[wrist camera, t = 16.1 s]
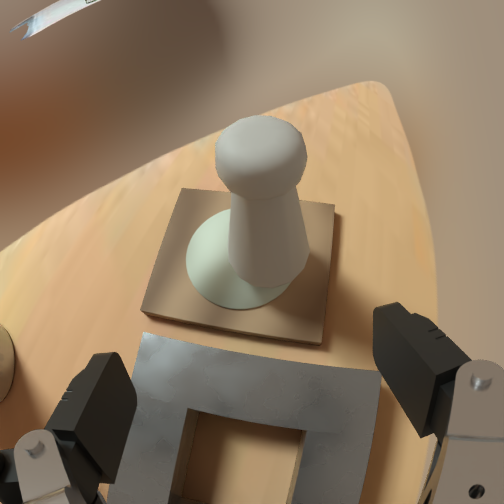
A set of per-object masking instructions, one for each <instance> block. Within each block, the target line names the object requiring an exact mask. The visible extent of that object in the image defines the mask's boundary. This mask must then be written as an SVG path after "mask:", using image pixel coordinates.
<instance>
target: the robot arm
mask: <svg viewBox="0 0 504 504" xmlns="http://www.w3.org/2000/svg"><path fill="white" fill-rule="evenodd" d="M373 357H374V361H375V364H376V366H377V368H378V370H379V371H380V373H381V374H382V376H383V378H384V379H385V381H386V382H387V384H388V386H389V387H390V389H391V390H392V392H393V394H394V395H395V397H396V399H397V400H398V402H399V403H400V405H401V407H402V408H403V410H404V412H405V413H406V415H407V417H408V418H409V420H410V421H411V423H412V425H413V426H414V428H415V430H416V431H417V433H418V435H419V436H420V438H423V437H425V436H428V435H430V434H432V433H434V434H435V435H436V437H437V442H436V445H435V449H434V452H433V456H432V460H431V464H430V467H429V471H428V474H427V477H426V481H425V484H424V487H423V490H422V493H421V496H420V499H419V501H418V504H504V370H503V368H502V367H500V366H499V365H498V364H496V363H494V362H491V361H487V360H473V361H472V360H471V359H470V358H469V357H468V356H467V355H466V354H465V353H464V352H463V351H462V350H461V349H460V348H459V347H458V346H457V345H456V344H455V343H454V342H453V341H452V340H451V339H450V338H449V337H446V335H445V333H443V332H442V331H441V330H440V329H438V327H437V326H436V325H435V324H434V323H433V322H432V321H431V320H430V319H428V318H426V317H424V316H421V315H419V314H417V313H414V314H410V313H409V312H408V311H407V310H406V309H405V308H404V307H403V306H402V305H401V304H400V303H399V302H395V303H391V304H387V305H383V306H380V307H376V308H375V309H374V311H373ZM14 361H15V360H14V350H13V345H12V341H11V339H10V336H9V334H8V333H7V331H6V329H5V328H4V327H3V326H2V325H1V324H0V402H1V401H2V400H3V399H4V398H5V396H6V395H7V393H8V391H9V389H10V387H11V383H12V380H13V374H14ZM66 390H67V392H65V393H64V395H63V396H62V398H61V399H62V400H60V401H59V403H58V405H57V407H56V408H55V410H54V412H53V414H52V416H51V417H50V419H49V421H48V423H47V425H46V426H45V428H44V429H38V430H33V431H30V432H28V433H27V434H25V435H24V436H22V437H21V438H20V439H19V440H18V442H17V443H16V445H15V448H14V449H6V450H0V502H1V503H2V504H107V503H106V502H105V500H104V498H103V496H102V494H101V493H100V492H99V491H98V487H99V483H107V484H115V480H116V477H117V473H118V469H119V466H120V462H121V459H122V455H123V452H124V448H125V445H126V441H127V438H128V435H129V431H130V428H131V425H132V421H133V418H134V415H135V412H136V409H137V394H136V390H135V388H134V386H133V384H132V381H131V379H130V377H129V375H128V373H127V370H126V368H125V366H124V364H123V361H122V359H121V357H120V355H119V354H118V353H116V352H110V353H99V354H94V355H93V356H92V358H91V359H90V361H89V363H88V365H87V366H86V368H85V369H83V370H82V371H81V372H80V373H79V374H78V375H77V376H75V377H74V378H73V379H72V381H71V383H70V384H69V386H68V388H67V389H66Z"/></svg>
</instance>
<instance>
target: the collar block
mask: <svg viewBox="0 0 504 504" xmlns="http://www.w3.org/2000/svg"><path fill="white" fill-rule="evenodd" d="M381 377H382V374H381V373H380V371H372V370H361V369H351V368H341V367H332V366H323V365H315V364H308V363H300V362H293V361H286V360H280V359H273V358H267V357H261V356H255V355H249V354H243V353H238V352H233V351H227V350H222V349H217V348H212V347H207V346H202V345H198V344H193V343H188V342H184V341H179V340H175V339H171V338H166V337H162V336H158V335H154V334H150V333H146V332H143V336H142V340H141V343H140V347H139V351H138V355H137V358H136V362H135V366H134V370H133V374H132V378H131V381H132V384H133V386H134V388H135V390H136V394H137V409H136V412H135V415H134V418H133V421H132V425H131V428H130V431H129V435H128V438H127V441H126V445H125V448H124V452H123V455H122V459H121V462H120V466H119V469H118V473H117V477H116V480H115V484H110V485H109V491H108V497H107V504H206V503H202V502H199V501H195V500H191V499H188V498H184V497H181V496H182V491H183V487H184V482H185V477H186V472H187V467H188V463H189V458H190V453H191V448H192V444H193V439H194V434H195V430H196V425H197V420H198V416H199V411H202V412H206V413H211V414H215V415H219V416H224V417H229V418H234V419H239V420H244V421H249V422H254V423H260V424H266V425H272V426H279V427H285V428H293V429H300V430H302V433H301V438H300V443H299V448H298V453H297V458H296V462H295V467H294V471H293V476H292V480H291V485H290V489H289V493H288V497H287V501H286V504H359V500H360V496H361V492H362V488H363V483H364V479H365V475H366V470H367V465H368V460H369V456H370V450H371V445H372V440H373V434H374V428H375V422H376V415H377V409H378V401H379V394H380V386H381Z"/></svg>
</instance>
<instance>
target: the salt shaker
mask: <svg viewBox="0 0 504 504" xmlns="http://www.w3.org/2000/svg"><path fill="white" fill-rule="evenodd" d="M215 162H216V170H217V173H218V176H219V178H220V179H221V180H222V181H223V183H224V184H225V185H226V187H227V188H228V189H229V190H230V191H231V209H230V221H229V232H228V260H229V262H230V264H231V265H232V267H233V269H234V270H235V272H236V273H237V275H238V276H239V278H241V279H243V280H244V281H246V282H248V283H249V284H251V285H253V286H255V287H265V288H275V287H278V286H281V285H284V284H287V283H290V282H292V281H293V280H294V279H295V278H296V276H297V275H298V274H299V273H300V272H301V271H302V270H303V269H304V267H305V264H306V262H307V259H308V256H309V253H310V248H309V243H308V239H307V234H306V229H305V225H304V220H303V216H302V211H301V207H300V202H299V198H298V193H297V189H296V185H297V184H298V183H299V182H300V180H301V177H302V175H303V172H304V169H305V167H306V162H307V152H306V146H305V143H304V140H303V137H302V134H301V133H300V132H299V131H298V130H297V129H296V128H295V127H294V126H293V125H292V124H291V123H289V122H287V121H284V120H281V119H278V118H275V117H272V116H258V115H255V116H251V117H247V118H243V119H240V120H238V121H237V122H235V123H233V124H232V125H230V126H229V127H227V128H226V129H225V130H223V132H222V133H221V135H220V136H219V138H218V140H217V141H216V143H215Z"/></svg>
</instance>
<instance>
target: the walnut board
mask: <svg viewBox="0 0 504 504" xmlns="http://www.w3.org/2000/svg"><path fill="white" fill-rule="evenodd" d="M299 202H300V207H301V211H302V216H303V220H304V225H305V229H306V234H307V239H308V243H309V248H310V253H309V256H308V259H307V262H306V264H305V267H304V269H303V270H302V271H301V272H300V273H299V274H298V275H297V276H296V278H295V279H294V280H293V281H292V282H290V283H287V284H284V285H281V286H278V287H275V288H265V287H255V286H253V285H251V284H249V283H248V282H246V281H244V280H243V279H241V278H239V276H238V275H237V273H236V272H235V270H234V269H233V267H232V265H231V264H230V262H229V260H228V232H229V221H230V209H231V192H221V191H210V190H199V189H186V188H182V189H181V192H180V194H179V197H178V200H177V202H176V205H175V208H174V210H173V213H172V216H171V219H170V221H169V224H168V227H167V230H166V233H165V235H164V238H163V241H162V244H161V247H160V250H159V253H158V256H157V259H156V262H155V265H154V268H153V271H152V274H151V277H150V280H149V283H148V287H147V290H146V293H145V296H144V299H143V303H142V306H141V309H140V310H141V311H142V312H143V313H144V314H147V315H152V316H156V317H160V318H165V319H169V320H174V321H179V322H184V323H188V324H193V325H198V326H203V327H208V328H214V329H219V330H224V331H230V332H235V333H241V334H247V335H253V336H259V337H265V338H271V339H278V340H284V341H291V342H298V343H305V344H313V345H320V344H321V341H322V334H323V326H324V318H325V310H326V301H327V292H328V283H329V273H330V262H331V251H332V238H333V225H334V210H335V205H333V204H326V203H319V202H311V201H303V200H299Z"/></svg>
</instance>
